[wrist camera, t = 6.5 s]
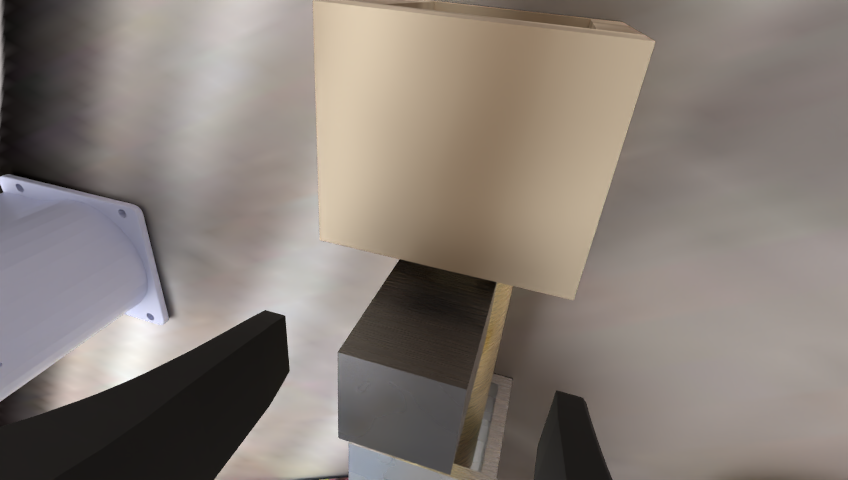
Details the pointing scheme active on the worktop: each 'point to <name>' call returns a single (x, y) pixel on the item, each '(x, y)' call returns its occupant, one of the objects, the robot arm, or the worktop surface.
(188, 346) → the worktop surface
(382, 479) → the sleeve
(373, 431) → the tube
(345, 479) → the snack box
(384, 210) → the socket block
